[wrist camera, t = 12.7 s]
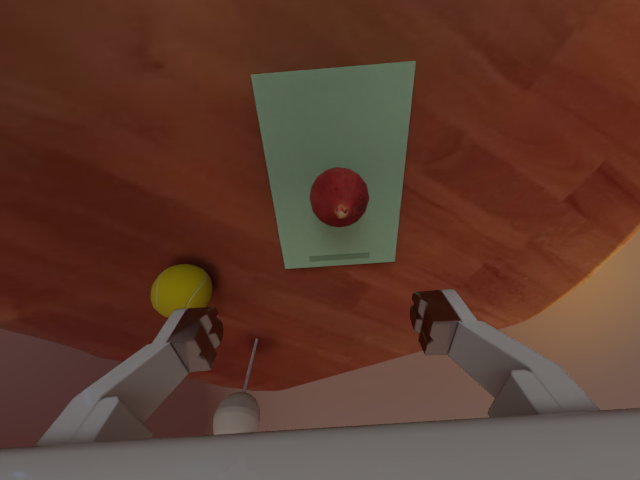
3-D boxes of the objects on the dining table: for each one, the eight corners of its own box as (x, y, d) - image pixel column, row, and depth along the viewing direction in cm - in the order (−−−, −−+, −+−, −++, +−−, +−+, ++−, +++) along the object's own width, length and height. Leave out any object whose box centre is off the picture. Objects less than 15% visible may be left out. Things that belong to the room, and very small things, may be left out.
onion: (367, 164, 26) (387, 186, 19) (355, 213, 28) (368, 248, 22) (314, 156, 25) (314, 176, 18) (307, 206, 28) (305, 240, 21)
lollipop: (242, 325, 40) (206, 432, 27) (276, 331, 41) (258, 437, 28) (237, 347, 43) (204, 454, 30) (270, 353, 44) (251, 458, 31)
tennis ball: (222, 261, 33) (201, 296, 27) (217, 296, 37) (197, 335, 31) (169, 249, 32) (135, 282, 26) (169, 287, 36) (139, 324, 29)
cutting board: (253, 76, 23) (250, 74, 21) (410, 63, 23) (416, 60, 21) (286, 262, 34) (284, 269, 32) (391, 255, 33) (394, 262, 32)
